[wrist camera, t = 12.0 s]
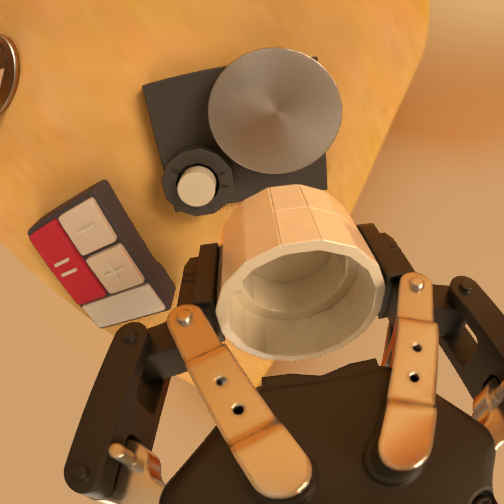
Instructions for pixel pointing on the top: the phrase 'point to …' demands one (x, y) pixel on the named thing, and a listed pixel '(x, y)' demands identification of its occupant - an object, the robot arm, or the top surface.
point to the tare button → (196, 186)
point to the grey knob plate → (207, 145)
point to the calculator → (102, 258)
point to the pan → (275, 110)
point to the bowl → (294, 275)
